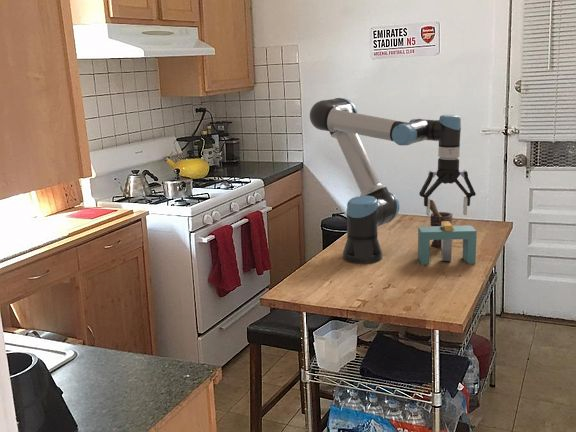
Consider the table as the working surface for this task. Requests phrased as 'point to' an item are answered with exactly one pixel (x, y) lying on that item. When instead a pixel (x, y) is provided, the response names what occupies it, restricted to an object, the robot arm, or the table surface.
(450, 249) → the golden orange block
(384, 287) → the table surface
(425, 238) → the teal slotted arch
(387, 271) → the table surface
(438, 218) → the mortar and pestle
